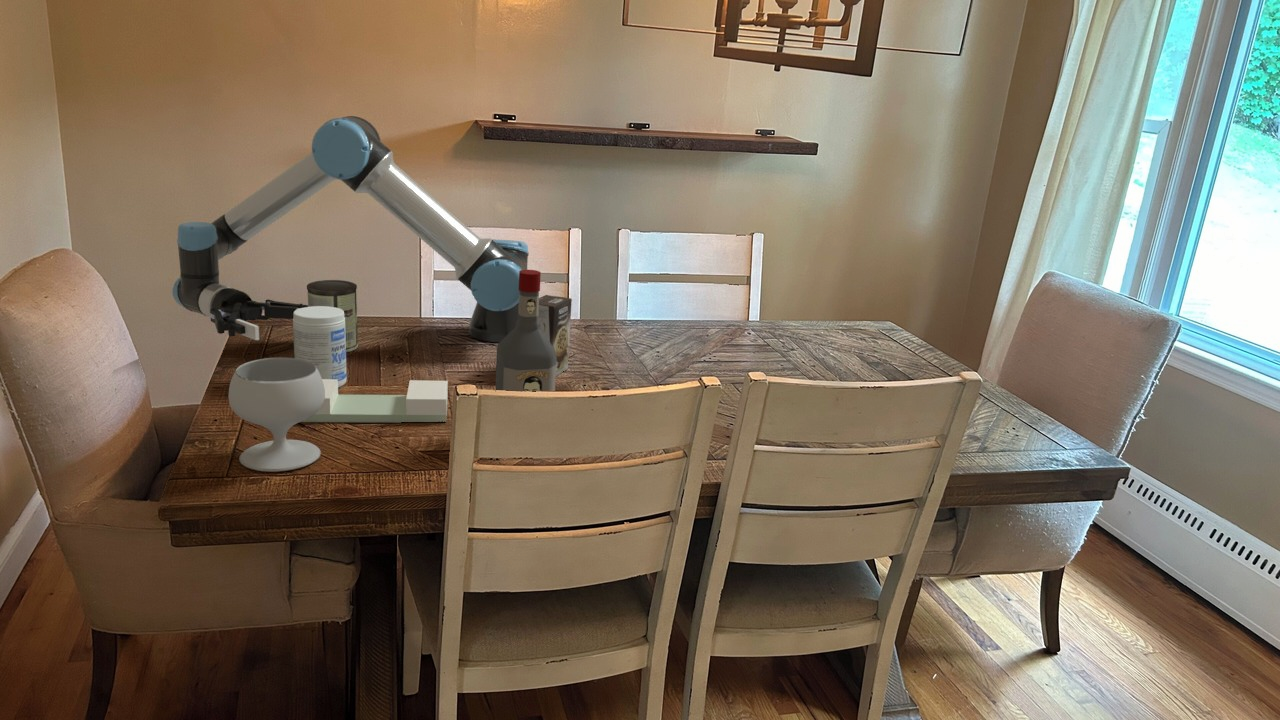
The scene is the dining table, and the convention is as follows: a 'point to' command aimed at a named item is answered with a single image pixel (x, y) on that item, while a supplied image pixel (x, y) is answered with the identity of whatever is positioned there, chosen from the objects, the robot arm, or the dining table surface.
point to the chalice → (277, 409)
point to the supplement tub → (321, 340)
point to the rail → (385, 404)
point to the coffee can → (337, 304)
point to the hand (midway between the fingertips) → (288, 327)
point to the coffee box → (556, 326)
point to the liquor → (526, 345)
